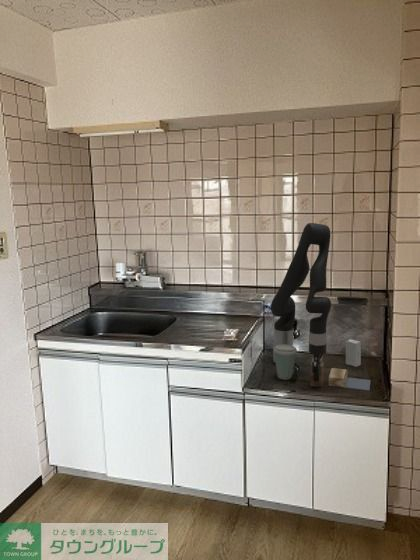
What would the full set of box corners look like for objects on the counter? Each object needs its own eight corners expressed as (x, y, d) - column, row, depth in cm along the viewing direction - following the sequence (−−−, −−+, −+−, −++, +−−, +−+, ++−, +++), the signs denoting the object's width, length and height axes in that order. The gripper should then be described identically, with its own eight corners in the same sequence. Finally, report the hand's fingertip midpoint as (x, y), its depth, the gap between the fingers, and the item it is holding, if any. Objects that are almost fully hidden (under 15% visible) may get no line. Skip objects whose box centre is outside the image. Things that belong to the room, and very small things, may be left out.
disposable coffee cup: (275, 371, 219) (275, 341, 217) (298, 373, 216) (298, 343, 213) (271, 380, 210) (271, 349, 207) (295, 382, 206) (295, 351, 203)
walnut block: (310, 385, 203) (310, 364, 201) (311, 382, 207) (312, 361, 205) (322, 387, 201) (322, 365, 199) (323, 383, 205) (323, 362, 203)
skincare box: (361, 365, 225) (361, 341, 222) (355, 367, 222) (356, 343, 219) (350, 361, 229) (350, 338, 227) (344, 364, 226) (345, 340, 224)
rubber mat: (345, 387, 200) (345, 387, 200) (347, 378, 210) (347, 377, 210) (369, 390, 196) (369, 390, 196) (370, 380, 206) (370, 380, 206)
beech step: (328, 385, 202) (328, 376, 202) (331, 376, 212) (331, 367, 212) (345, 387, 200) (345, 378, 199) (347, 378, 210) (347, 369, 209)
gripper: (311, 336, 208) (311, 371, 211) (306, 346, 195) (305, 384, 198) (328, 337, 205) (327, 373, 208) (324, 347, 192) (323, 386, 195)
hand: (317, 378), depth 203 cm, fingers closed on walnut block, 4 cm apart
